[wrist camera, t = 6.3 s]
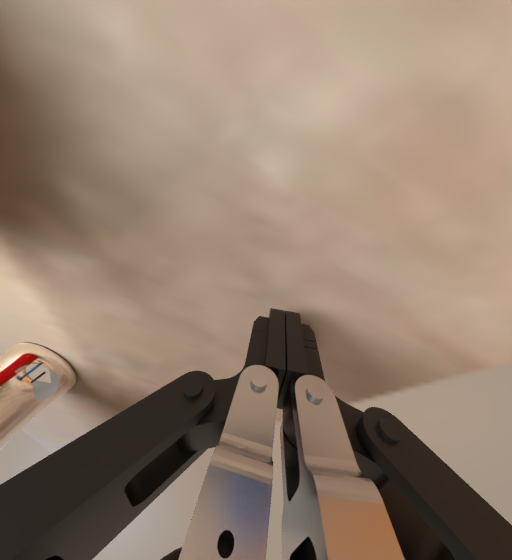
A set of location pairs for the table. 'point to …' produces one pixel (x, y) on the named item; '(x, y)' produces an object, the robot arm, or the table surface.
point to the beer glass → (29, 385)
